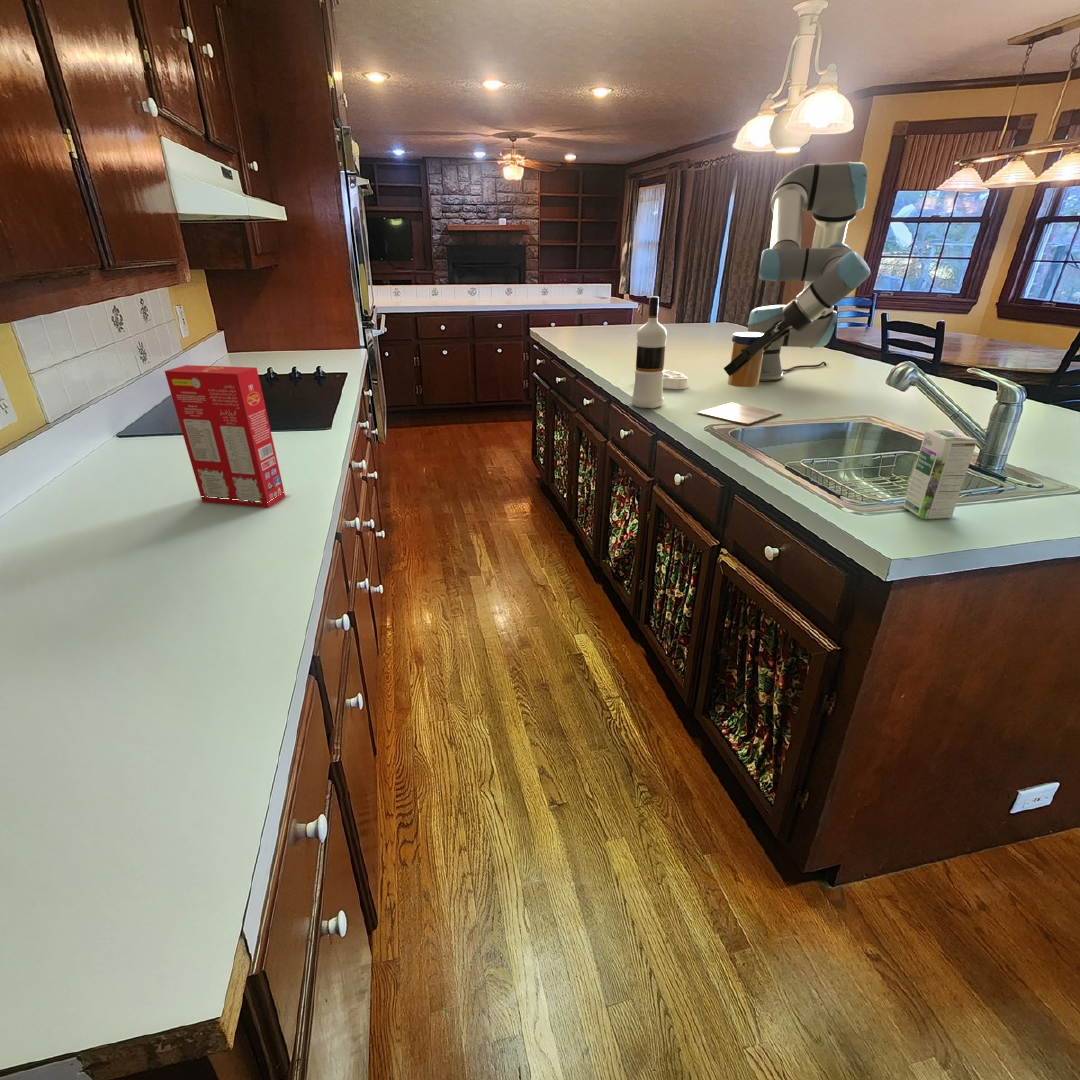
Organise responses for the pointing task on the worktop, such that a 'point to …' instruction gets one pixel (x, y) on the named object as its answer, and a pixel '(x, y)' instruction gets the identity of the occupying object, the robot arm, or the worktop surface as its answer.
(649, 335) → the vodka
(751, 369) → the jar
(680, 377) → the white brass knuckles
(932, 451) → the syrup box
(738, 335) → the lid
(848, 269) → the robot arm
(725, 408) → the trivet
